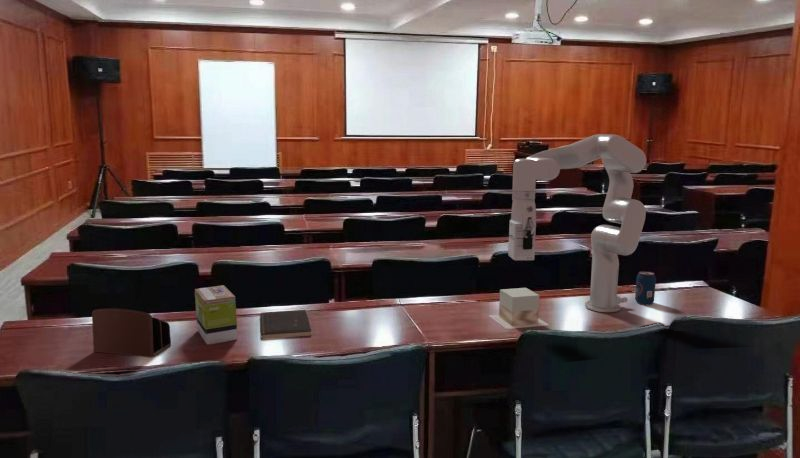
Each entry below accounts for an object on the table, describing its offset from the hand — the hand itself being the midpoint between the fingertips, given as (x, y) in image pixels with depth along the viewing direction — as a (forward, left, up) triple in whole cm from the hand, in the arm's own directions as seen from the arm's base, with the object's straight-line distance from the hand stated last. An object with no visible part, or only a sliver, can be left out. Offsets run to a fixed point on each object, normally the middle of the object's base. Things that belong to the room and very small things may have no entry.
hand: (521, 246), depth 210 cm
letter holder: (+126, -7, -28) cm, 129 cm away
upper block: (0, 0, -21) cm, 21 cm away
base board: (0, 0, -27) cm, 27 cm away
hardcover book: (+79, -17, -28) cm, 85 cm away
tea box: (+101, -13, -27) cm, 106 cm away
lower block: (0, 0, -26) cm, 26 cm away
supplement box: (0, 0, -4) cm, 4 cm away
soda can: (-59, -10, -27) cm, 66 cm away
